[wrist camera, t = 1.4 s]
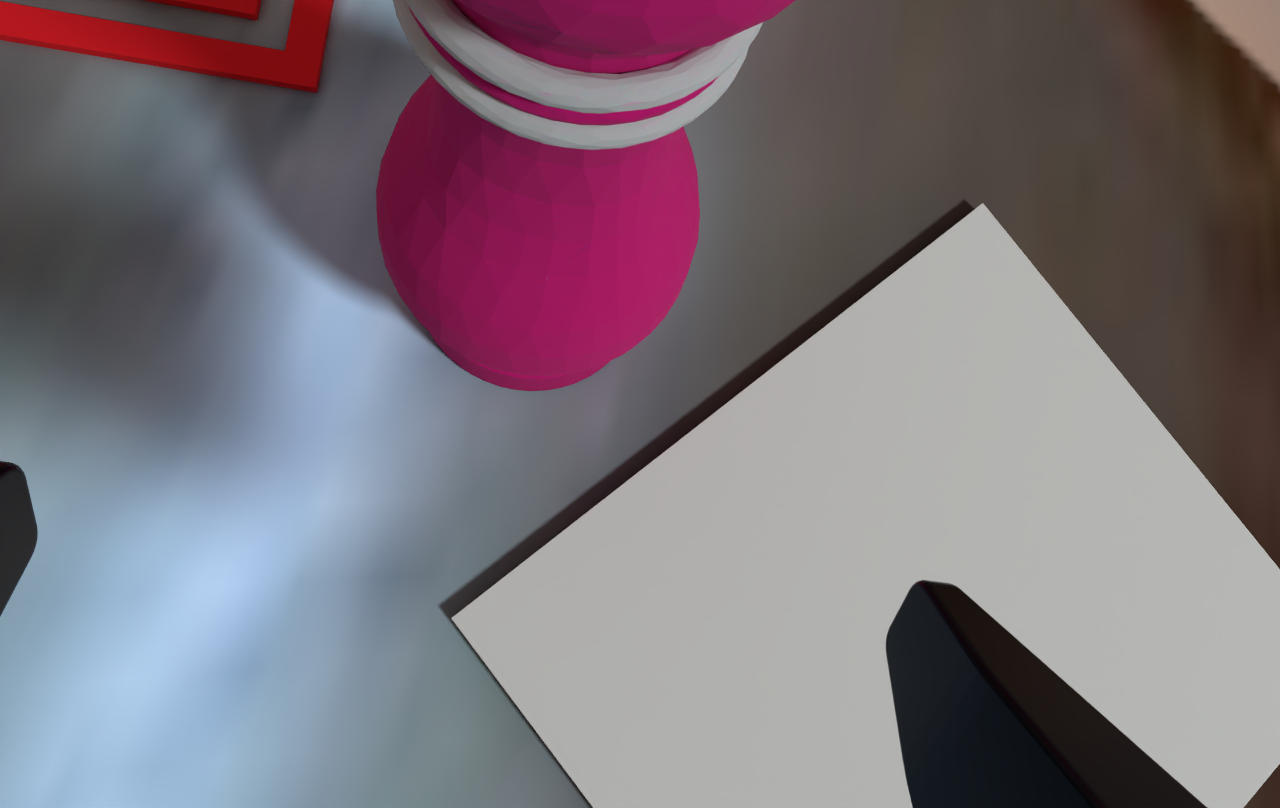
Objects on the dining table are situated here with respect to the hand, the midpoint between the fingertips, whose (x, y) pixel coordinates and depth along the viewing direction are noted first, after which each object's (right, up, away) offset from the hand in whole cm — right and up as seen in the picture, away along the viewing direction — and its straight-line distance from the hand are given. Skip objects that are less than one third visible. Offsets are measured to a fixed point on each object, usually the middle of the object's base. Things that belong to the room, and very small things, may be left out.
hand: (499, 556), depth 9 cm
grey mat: (+10, -5, +15) cm, 19 cm away
